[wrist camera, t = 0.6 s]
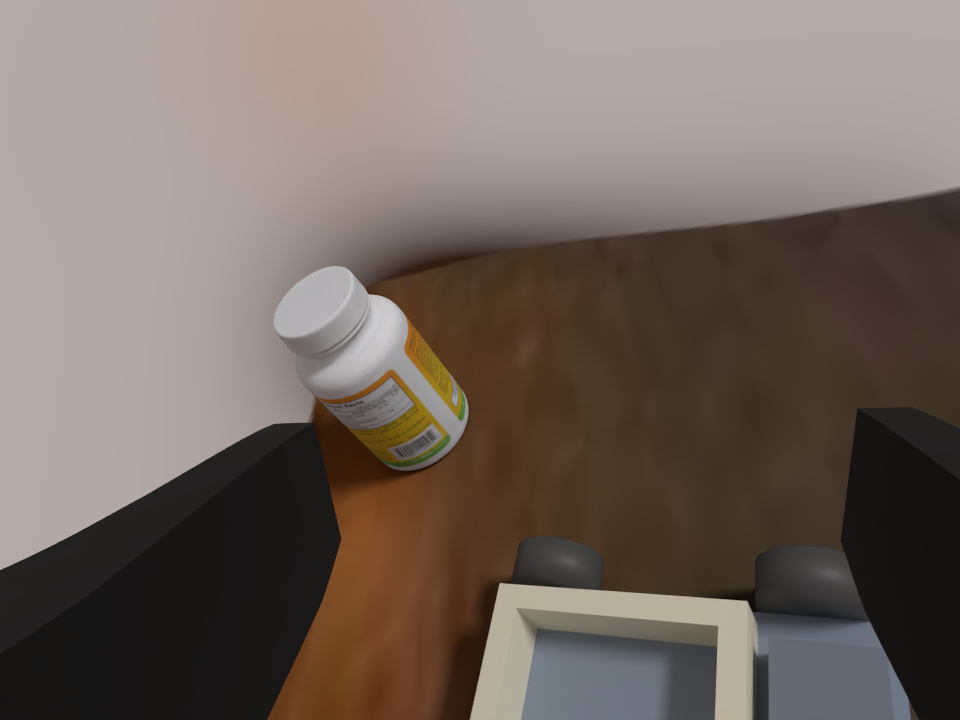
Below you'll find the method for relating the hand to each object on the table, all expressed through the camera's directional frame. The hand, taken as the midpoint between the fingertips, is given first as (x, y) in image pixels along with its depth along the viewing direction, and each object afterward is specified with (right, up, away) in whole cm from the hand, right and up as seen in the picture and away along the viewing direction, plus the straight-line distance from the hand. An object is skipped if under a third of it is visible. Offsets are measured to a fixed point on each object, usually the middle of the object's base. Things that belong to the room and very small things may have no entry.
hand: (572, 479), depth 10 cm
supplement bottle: (-4, -2, +26) cm, 27 cm away
